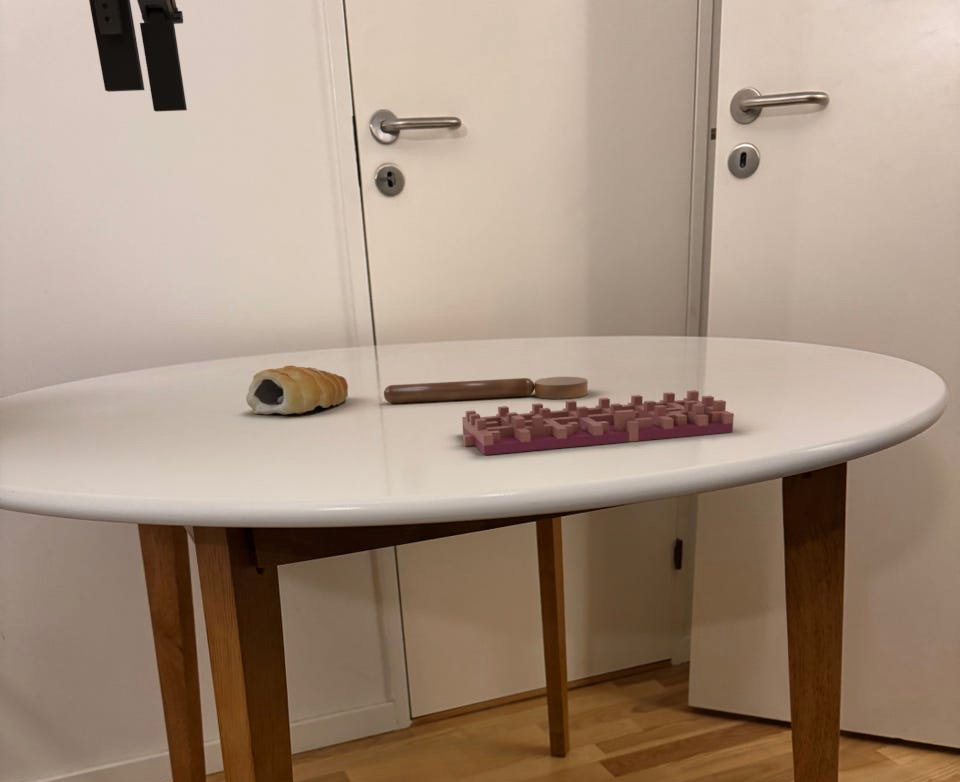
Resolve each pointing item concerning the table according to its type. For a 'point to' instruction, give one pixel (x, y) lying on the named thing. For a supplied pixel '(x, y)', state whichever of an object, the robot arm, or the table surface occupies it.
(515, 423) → the pink studded slab
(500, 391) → the wooden spoon
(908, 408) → the table surface
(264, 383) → the pastry
